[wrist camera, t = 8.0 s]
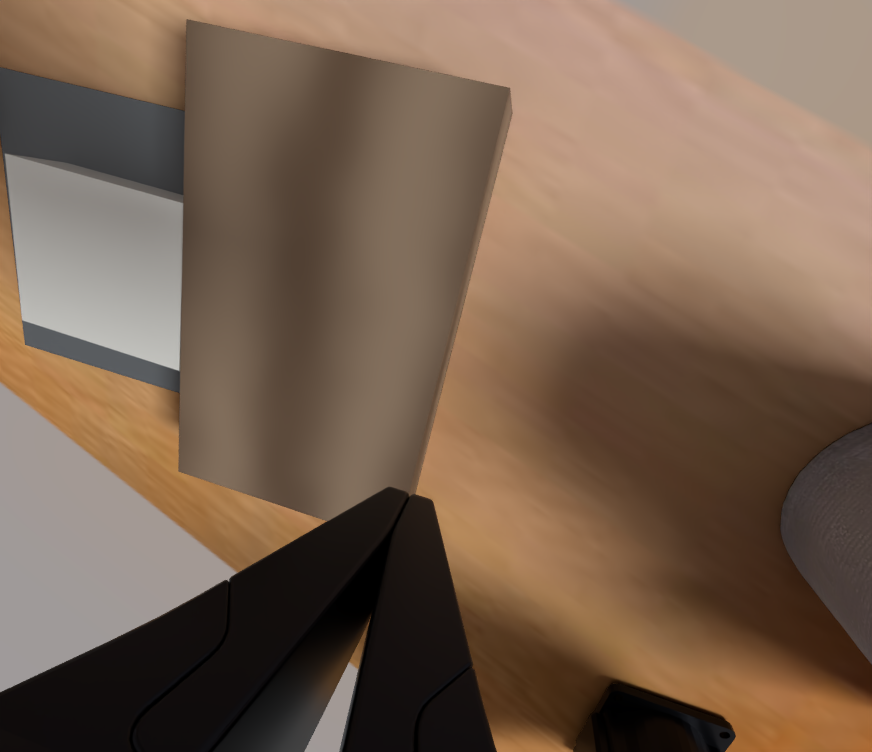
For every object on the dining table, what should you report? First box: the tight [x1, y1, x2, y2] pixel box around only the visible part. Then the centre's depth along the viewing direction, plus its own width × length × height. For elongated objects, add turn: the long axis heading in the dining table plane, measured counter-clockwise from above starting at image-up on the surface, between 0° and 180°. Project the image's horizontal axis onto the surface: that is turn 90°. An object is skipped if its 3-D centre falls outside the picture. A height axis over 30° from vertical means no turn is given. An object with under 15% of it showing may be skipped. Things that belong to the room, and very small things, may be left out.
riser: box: [179, 19, 512, 521], centre depth 18 cm, size 11×18×3 cm, turn 167°
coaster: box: [5, 153, 183, 371], centre depth 19 cm, size 8×7×2 cm
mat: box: [0, 67, 185, 393], centre depth 21 cm, size 11×13×1 cm
